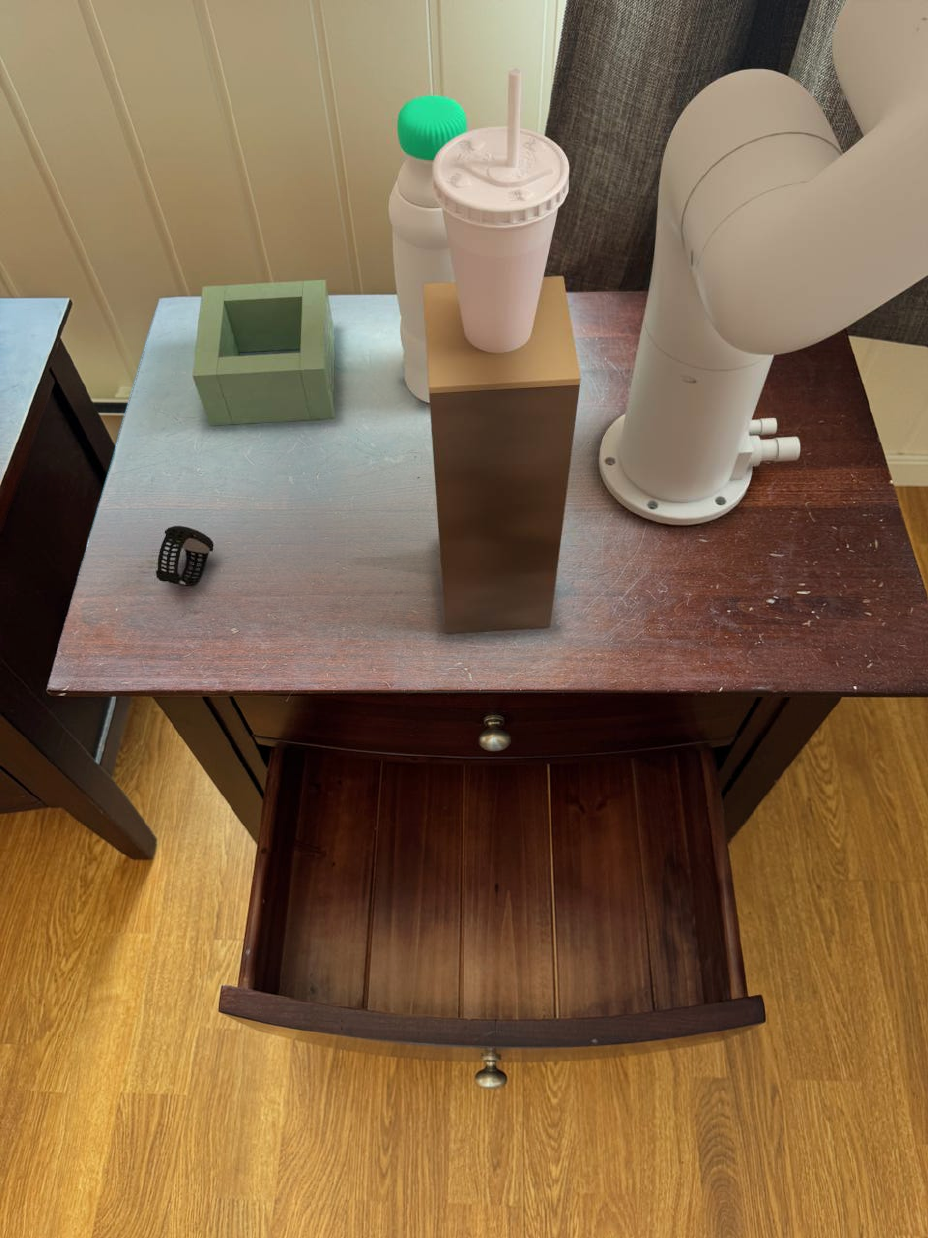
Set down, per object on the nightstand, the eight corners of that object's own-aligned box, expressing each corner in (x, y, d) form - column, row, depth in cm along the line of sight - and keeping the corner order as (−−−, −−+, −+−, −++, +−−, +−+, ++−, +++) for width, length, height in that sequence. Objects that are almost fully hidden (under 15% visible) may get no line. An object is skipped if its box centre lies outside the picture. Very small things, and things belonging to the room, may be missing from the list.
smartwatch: (229, 565, 76) (214, 528, 71) (184, 611, 74) (165, 575, 69) (192, 541, 77) (174, 503, 73) (146, 585, 75) (125, 548, 70)
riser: (539, 541, 76) (563, 275, 54) (550, 627, 72) (581, 378, 50) (440, 547, 76) (422, 283, 54) (445, 634, 72) (428, 387, 50)
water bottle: (481, 350, 87) (481, 77, 66) (485, 407, 84) (486, 139, 62) (404, 353, 87) (379, 81, 66) (405, 410, 84) (378, 143, 62)
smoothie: (546, 378, 50) (566, 122, 38) (427, 362, 51) (409, 106, 39) (564, 296, 53) (588, 35, 41) (452, 281, 54) (443, 22, 42)
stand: (334, 331, 89) (325, 279, 84) (333, 418, 83) (324, 368, 78) (218, 338, 89) (202, 286, 84) (210, 425, 83) (192, 375, 78)
